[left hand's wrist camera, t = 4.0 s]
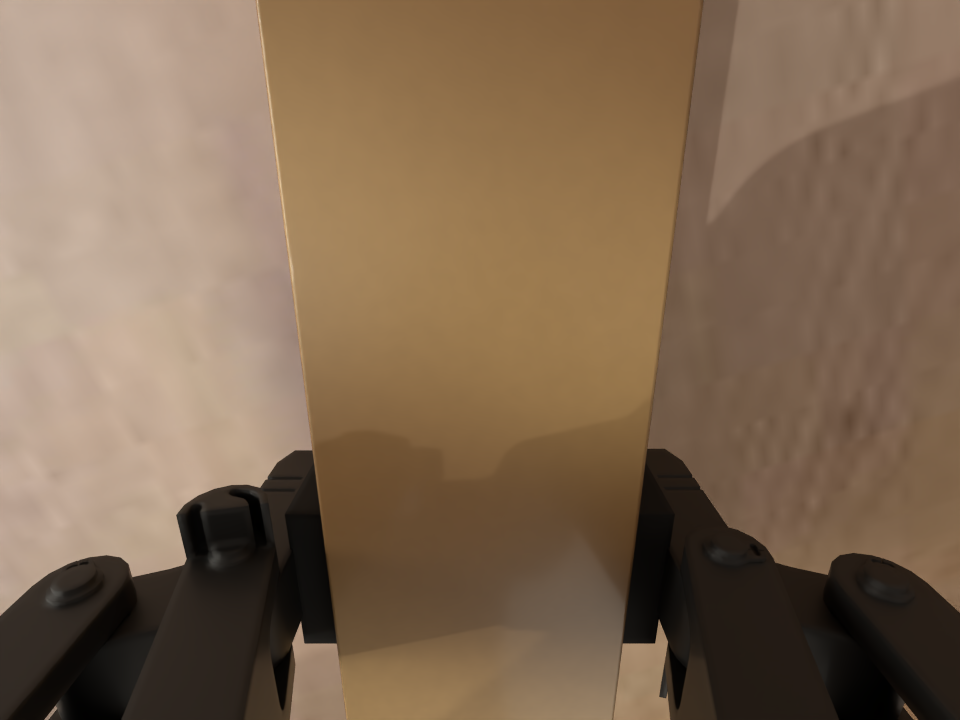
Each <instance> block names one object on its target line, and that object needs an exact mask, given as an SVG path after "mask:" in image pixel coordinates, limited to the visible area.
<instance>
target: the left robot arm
mask: <svg viewBox="0 0 960 720" xmlns="http://www.w3.org/2000/svg"><path fill="white" fill-rule="evenodd" d="M176 516H177V520H178V524H179V528H180V533H181V537H182V541H183V545H184V549H185V553H186V557H187V560H186V562H185V565H183V566H179V567H176V568H172V569H168V570H164V571H159V572H154V573H150V574H145V575H141V576H136V577H132V575H131V572H130V568H129V565H128V563H126V562H125V561H124V560H123V559H122V558H120V557H113V556H107V555H106V556H98V557H90V558H86V559H82V560H80V561H75V562H73V563H70V564H67V565H66V566H64V567H62V568H60V569H58V570H56V571H54V572H52V573H50V574H48V575H47V576H45V577H44V578H43V579H41V580H40V581H39V582H37V583H36V584H35V585H33V586H32V587H31V588H30V589H29V590H28V591H27V592H26V593H25V594H23V595H22V596H21V597H20V598H19V599H18V600H17V601H16V602H15V603H14V604H13V605H12V606H11V607H9V608H8V609H7V610H6V611H5V612H4V613H3V614H2V615H1V616H0V720H44V719H45V718H46V717H47V715H48V714H49V713H50V712H51V710H52V709H53V708H54V707H55V705H56V707H57V710H56V711H55V712H54V714H53V715H52V716H51V718H50V719H49V720H290V712H291V702H292V692H293V682H294V673H295V659H294V652H293V646H292V642H293V639H294V637H295V634H296V632H297V629H298V627H299V624H300V622H301V623H302V630H303V636H304V643H337V640H336V632H335V624H334V616H333V608H332V600H331V592H330V585H329V577H328V569H327V561H326V553H325V545H324V537H323V529H322V521H321V513H320V505H319V498H318V490H317V482H316V474H315V466H314V458H313V451H294V452H292V453H291V454H289V455H288V456H286V457H285V458H284V459H282V460H281V461H279V462H278V463H277V464H276V466H275V467H274V469H273V470H272V472H271V473H270V474H269V476H268V480H265V482H264V483H263V485H262V486H261V488H258V487H254V486H250V485H230V486H226V487H221V488H217V489H213V490H211V491H208V492H206V493H204V494H201V495H199V496H197V497H196V498H194V499H193V500H191V501H190V502H188V503H187V504H185V505H184V506H183V507H182V509H181V510H180V511H179V512H178V514H177V515H176ZM659 620H660V623H661V625H662V628H663V630H664V633H665V635H666V638H667V640H668V646H667V652H666V658H665V664H664V670H663V676H662V682H661V689H660V696H659V697H663V698H666V696H667V691H668V701H669V711H670V720H913V719H912V718H911V716H910V715H909V714H908V712H907V711H906V710H905V709H904V707H903V706H904V703H906V705H907V706H908V707H909V708H910V710H911V711H912V712H913V713H914V715H915V716H916V717H917V718H918V720H960V613H959V612H958V611H957V610H956V609H955V608H954V607H953V606H952V605H951V604H949V603H948V602H947V601H946V600H945V599H944V598H943V597H942V596H941V595H940V594H939V593H938V592H936V591H935V590H934V589H933V588H932V587H931V586H930V585H929V584H928V583H926V582H925V581H924V580H922V579H921V578H920V577H918V576H917V575H916V574H914V573H913V572H911V571H909V570H907V569H905V568H903V567H901V566H899V565H897V564H895V563H894V562H891V561H889V560H886V559H882V558H880V557H875V556H872V555H865V554H857V553H851V554H845V555H840V556H838V557H837V558H836V559H835V560H834V561H832V563H831V567H830V570H829V574H828V575H825V574H820V573H816V572H811V571H806V570H802V569H797V568H793V567H788V566H785V565H781V564H778V563H775V561H774V559H773V557H772V556H771V554H770V553H769V551H768V550H767V549H766V547H765V546H763V545H762V544H761V543H760V542H758V541H757V540H756V539H754V538H753V537H751V536H749V535H747V534H745V533H743V532H741V531H738V530H736V529H732V528H728V526H727V525H726V523H725V522H724V521H723V519H722V518H721V516H720V515H719V513H718V512H717V510H716V509H715V508H714V506H713V505H712V503H711V502H710V500H709V499H708V497H707V496H706V494H705V493H704V492H703V490H700V486H699V484H698V483H697V481H696V480H695V479H694V478H692V474H691V473H690V471H689V470H688V468H687V467H686V466H685V464H684V463H683V461H682V460H680V459H679V458H677V457H676V456H674V455H673V454H671V453H670V452H669V451H667V450H666V449H647V454H646V462H645V470H644V478H643V486H642V494H641V502H640V510H639V518H638V526H637V534H636V541H635V549H634V557H633V565H632V573H631V581H630V589H629V597H628V605H627V613H626V621H625V629H624V637H623V643H655V640H656V634H657V628H658V621H659Z"/></svg>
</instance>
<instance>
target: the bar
mask: <svg viewBox="0 0 960 720" xmlns="http://www.w3.org/2000/svg"><path fill="white" fill-rule="evenodd" d="M703 2H704V0H256V8H257V15H258V23H259V31H260V39H261V47H262V55H263V63H264V71H265V79H266V87H267V95H268V102H269V110H270V118H271V126H272V134H273V142H274V150H275V158H276V166H277V174H278V181H279V189H280V197H281V205H282V213H283V221H284V229H285V237H286V245H287V253H288V260H289V268H290V276H291V284H292V292H293V300H294V308H295V316H296V324H297V332H298V340H299V347H300V355H301V363H302V371H303V379H304V387H305V395H306V403H307V411H308V419H309V426H310V434H311V442H312V450H313V458H314V466H315V474H316V482H317V490H318V498H319V505H320V513H321V521H322V529H323V537H324V545H325V553H326V561H327V569H328V577H329V585H330V592H331V600H332V608H333V616H334V624H335V632H336V640H337V648H338V656H339V664H340V671H341V679H342V687H343V695H344V703H345V711H346V719H347V720H613V716H614V708H615V700H616V692H617V684H618V676H619V668H620V661H621V653H622V645H623V637H624V629H625V621H626V613H627V605H628V597H629V589H630V581H631V573H632V565H633V557H634V549H635V541H636V534H637V526H638V518H639V510H640V502H641V494H642V486H643V478H644V470H645V462H646V454H647V446H648V438H649V430H650V422H651V414H652V407H653V399H654V391H655V383H656V375H657V367H658V359H659V351H660V343H661V335H662V327H663V319H664V311H665V303H666V295H667V287H668V280H669V272H670V264H671V256H672V248H673V240H674V232H675V224H676V216H677V208H678V200H679V192H680V184H681V176H682V168H683V161H684V153H685V145H686V137H687V129H688V121H689V113H690V105H691V97H692V89H693V81H694V73H695V65H696V57H697V49H698V41H699V34H700V26H701V18H702V10H703Z"/></svg>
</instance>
